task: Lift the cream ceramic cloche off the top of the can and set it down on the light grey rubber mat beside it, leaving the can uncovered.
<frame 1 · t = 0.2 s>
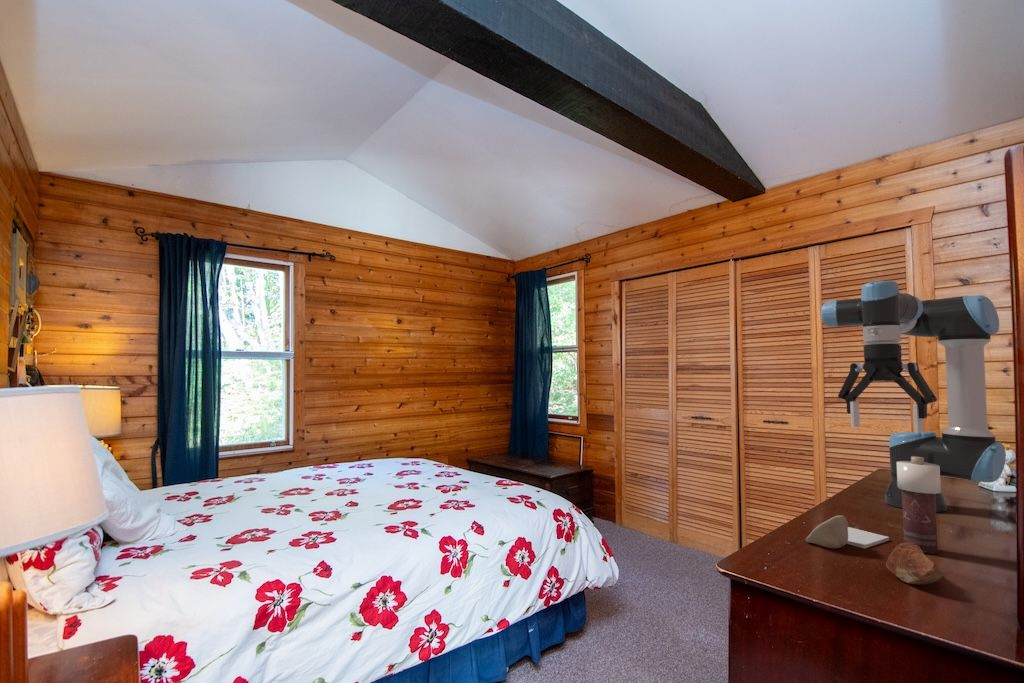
hand: (885, 429, 122), 28 cm above the dresser, fingers open, 13 cm apart
stone: (827, 546, 120), on the dresser
mat: (850, 537, 126), on the dresser
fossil: (913, 581, 100), on the dresser
cloche: (918, 489, 118), point 14 cm above the dresser, touching can
can: (921, 550, 117), on the dresser, touching cloche
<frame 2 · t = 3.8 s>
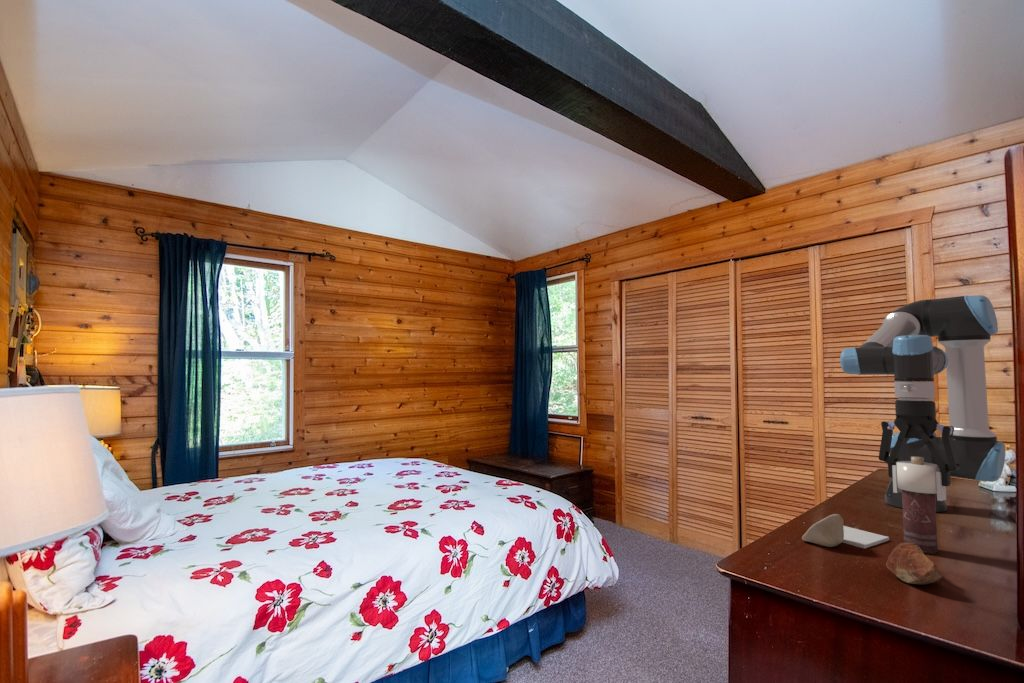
hand: (919, 495, 118), 13 cm above the dresser, fingers closed on cloche, 8 cm apart
stone: (823, 545, 121), on the dresser
cloche: (918, 489, 118), point 14 cm above the dresser, touching can, gripper
everything else where it was.
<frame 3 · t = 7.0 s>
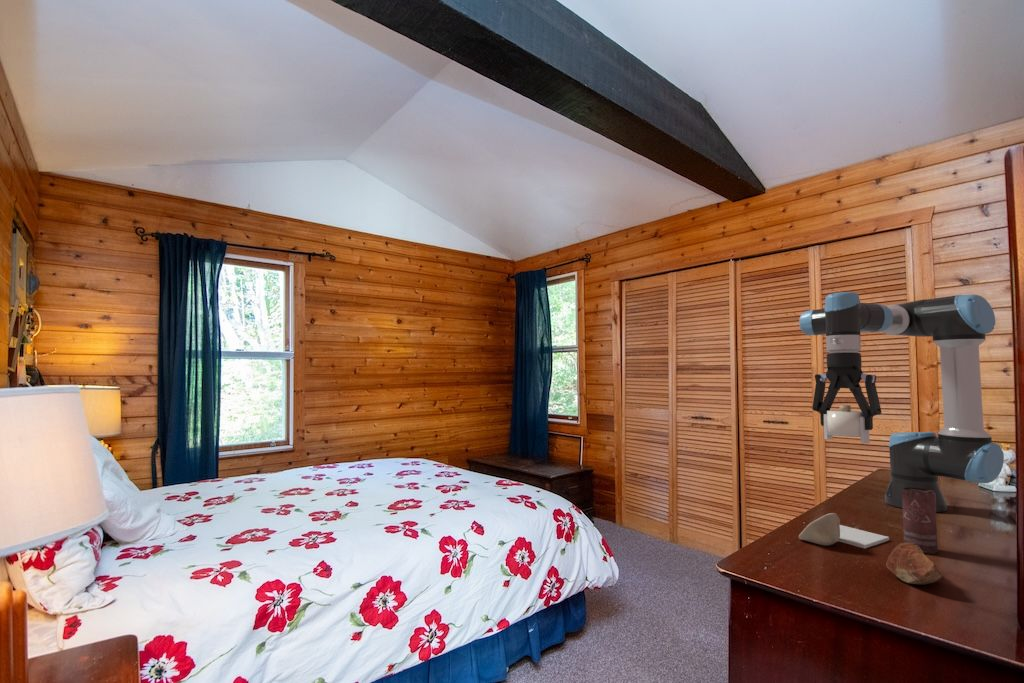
hand: (846, 440, 127), 24 cm above the dresser, fingers closed on cloche, 8 cm apart
cloche: (846, 435, 127), point 26 cm above the dresser, touching gripper
can: (921, 550, 117), on the dresser
when the fingers open (2 cm above the dresser, at t = 10.2 s): cloche drops 2 cm, resting on mat.
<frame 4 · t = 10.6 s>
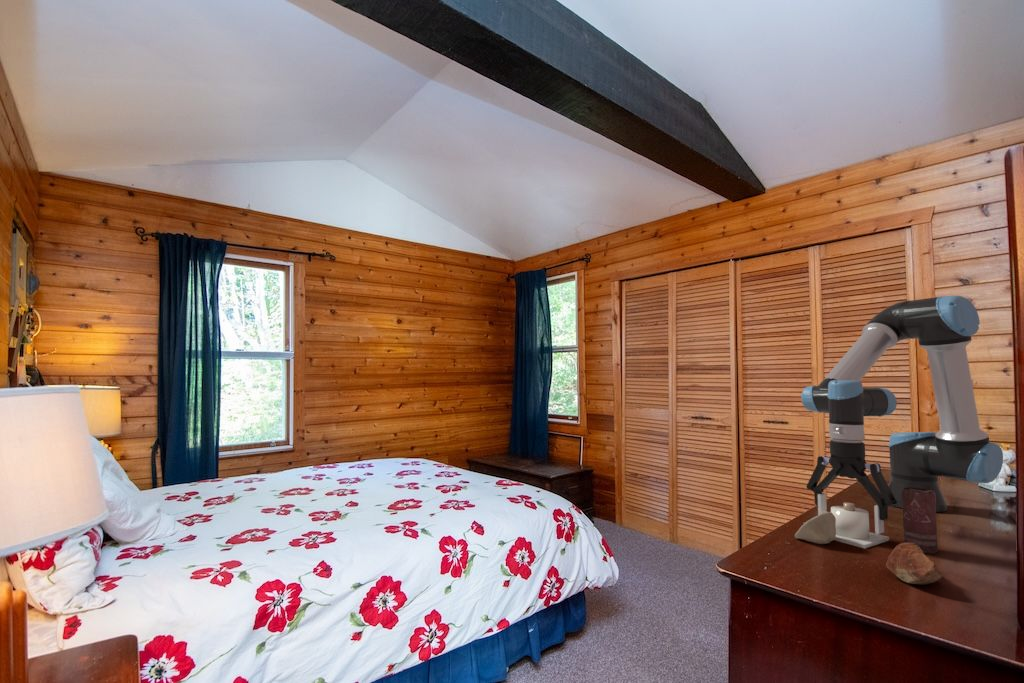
hand: (849, 525, 126), 3 cm above the dresser, fingers open, 13 cm apart
stone: (816, 542, 123), on the dresser
cloche: (850, 534, 126), point 1 cm above the dresser, touching mat
everything else where it was.
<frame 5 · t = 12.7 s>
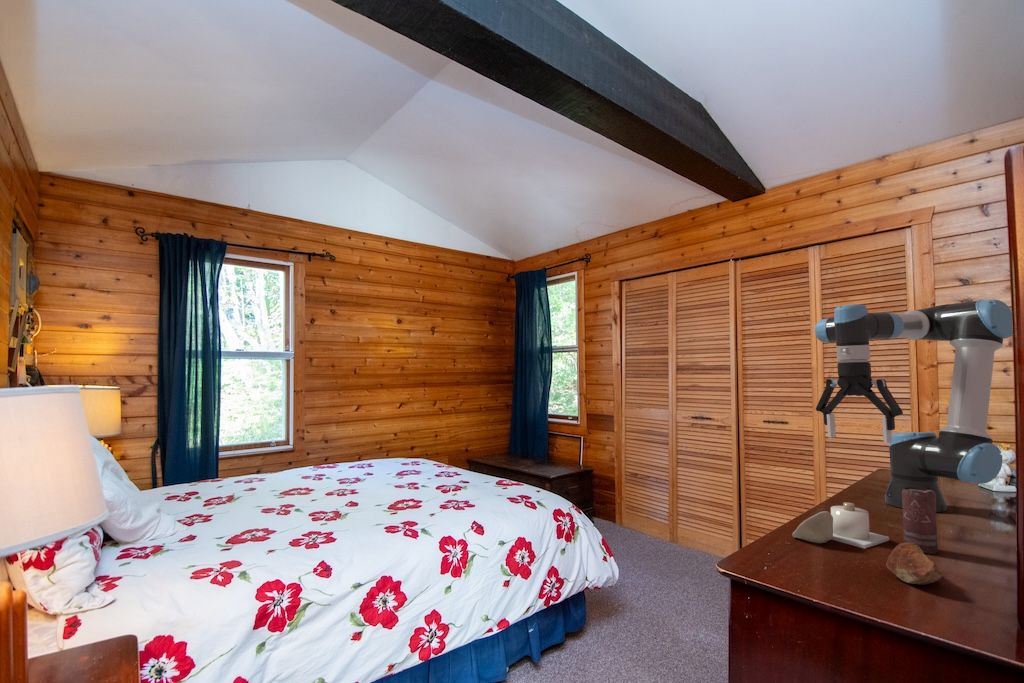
hand: (858, 439, 135), 24 cm above the dresser, fingers open, 13 cm apart
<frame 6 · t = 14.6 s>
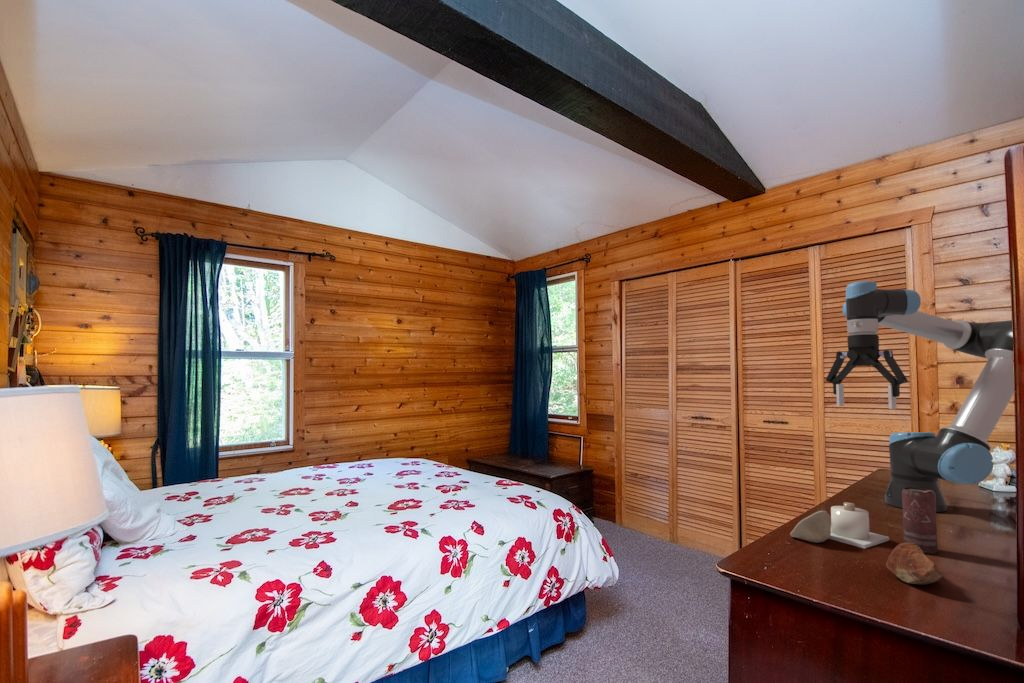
hand: (865, 407, 145), 32 cm above the dresser, fingers open, 13 cm apart
at the end: cloche inside the target area on the mat (0.1 cm from its centre), point 0.8 cm above the mat's base; cloche touching mat; can tilted 0° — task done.
